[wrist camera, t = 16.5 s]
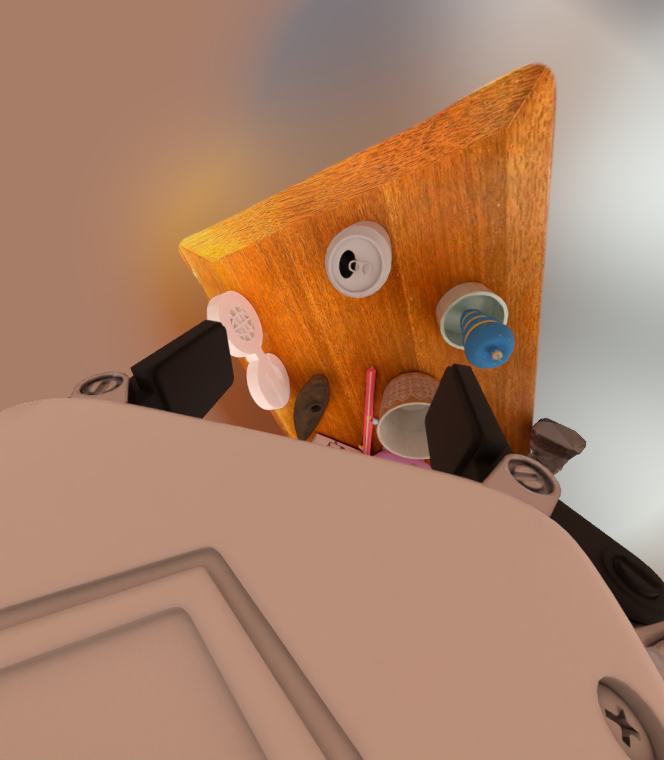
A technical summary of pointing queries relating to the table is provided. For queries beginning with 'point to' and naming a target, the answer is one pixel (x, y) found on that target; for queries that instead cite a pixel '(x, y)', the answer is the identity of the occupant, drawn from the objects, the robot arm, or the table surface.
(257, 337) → the pink double disc plate
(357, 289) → the can
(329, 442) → the ink box
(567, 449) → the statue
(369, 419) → the red long bar
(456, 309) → the bowl
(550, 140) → the table surface
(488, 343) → the ornament
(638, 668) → the robot arm
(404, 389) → the planter
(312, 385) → the artifact
